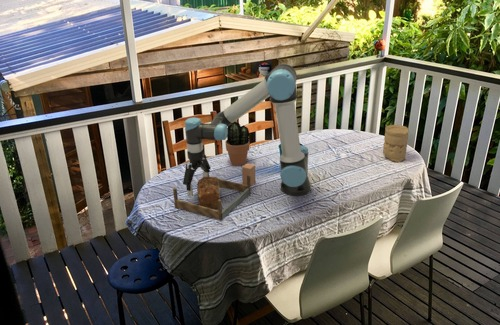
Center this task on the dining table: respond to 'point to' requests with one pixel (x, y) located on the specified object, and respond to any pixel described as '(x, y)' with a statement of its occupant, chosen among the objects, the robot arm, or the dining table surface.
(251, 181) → the tan rectangular block
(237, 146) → the potted plant
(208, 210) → the bay
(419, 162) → the dining table surface
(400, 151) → the container
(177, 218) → the dining table surface
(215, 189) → the bread
